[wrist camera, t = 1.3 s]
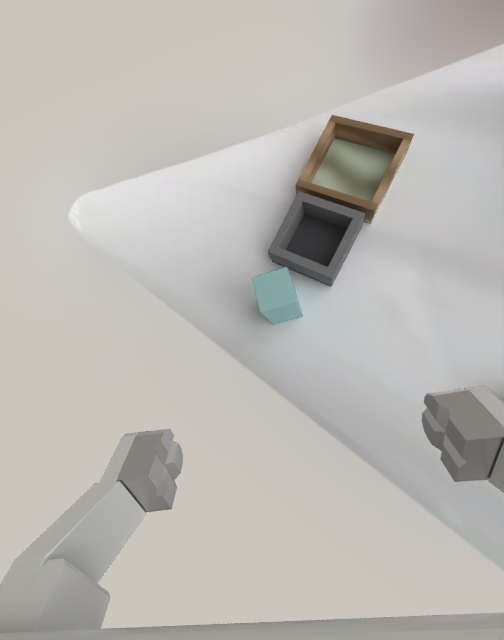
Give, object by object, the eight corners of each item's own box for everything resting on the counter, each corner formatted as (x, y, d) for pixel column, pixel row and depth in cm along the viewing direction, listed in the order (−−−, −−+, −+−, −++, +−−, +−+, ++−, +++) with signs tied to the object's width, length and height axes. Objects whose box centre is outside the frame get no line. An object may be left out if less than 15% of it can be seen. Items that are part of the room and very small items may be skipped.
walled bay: (331, 134, 44) (332, 115, 41) (406, 153, 41) (414, 134, 38) (297, 199, 44) (295, 184, 41) (370, 223, 41) (375, 210, 37)
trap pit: (300, 206, 44) (298, 191, 40) (361, 227, 41) (365, 213, 37) (272, 261, 44) (267, 251, 40) (331, 286, 41) (332, 278, 37)
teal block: (294, 288, 42) (287, 266, 32) (302, 316, 41) (297, 302, 31) (266, 297, 43) (251, 278, 33) (274, 324, 42) (260, 312, 32)
